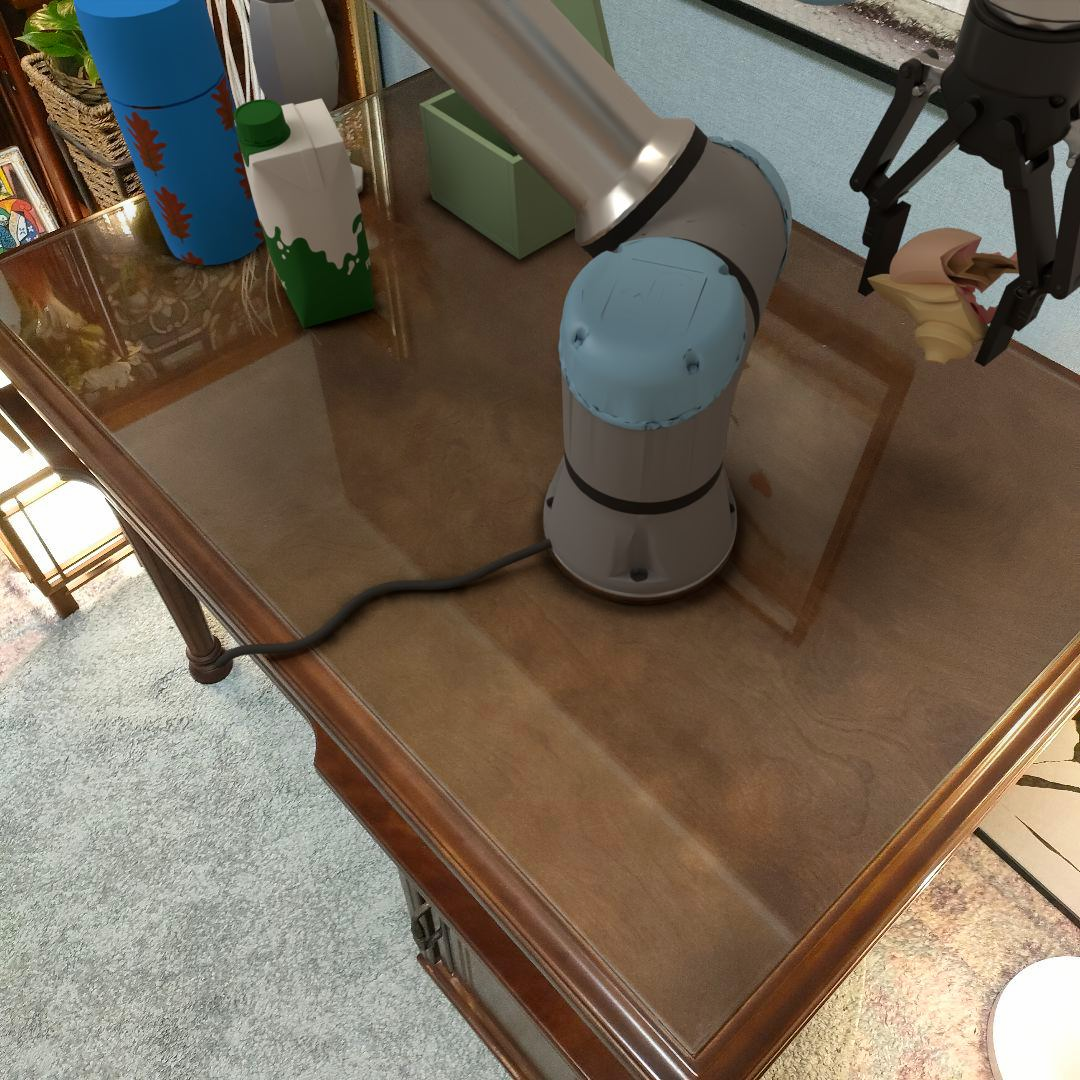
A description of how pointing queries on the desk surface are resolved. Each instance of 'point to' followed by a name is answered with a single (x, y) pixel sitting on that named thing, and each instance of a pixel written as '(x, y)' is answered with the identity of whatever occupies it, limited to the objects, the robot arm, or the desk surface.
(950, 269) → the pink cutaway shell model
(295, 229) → the milk carton
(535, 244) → the chest
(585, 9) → the lid
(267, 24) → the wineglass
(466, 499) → the desk surface
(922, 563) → the desk surface
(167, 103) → the thermos
